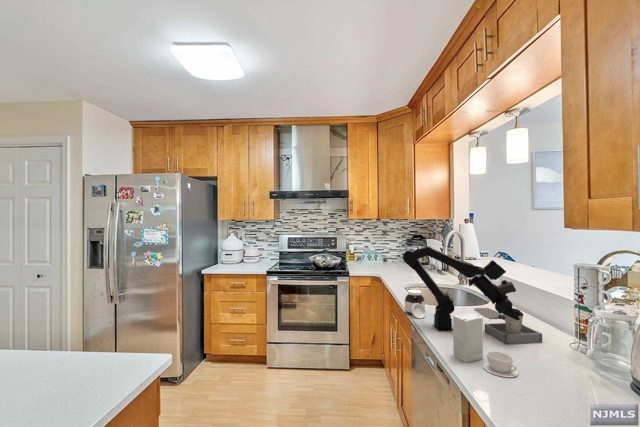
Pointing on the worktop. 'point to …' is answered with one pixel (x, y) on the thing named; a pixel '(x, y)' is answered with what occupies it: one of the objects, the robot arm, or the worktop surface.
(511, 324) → the coffee cup
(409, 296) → the spread jar
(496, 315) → the cleaver
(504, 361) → the teacup
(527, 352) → the worktop surface
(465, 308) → the worktop surface
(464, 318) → the skincare box
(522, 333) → the tray
